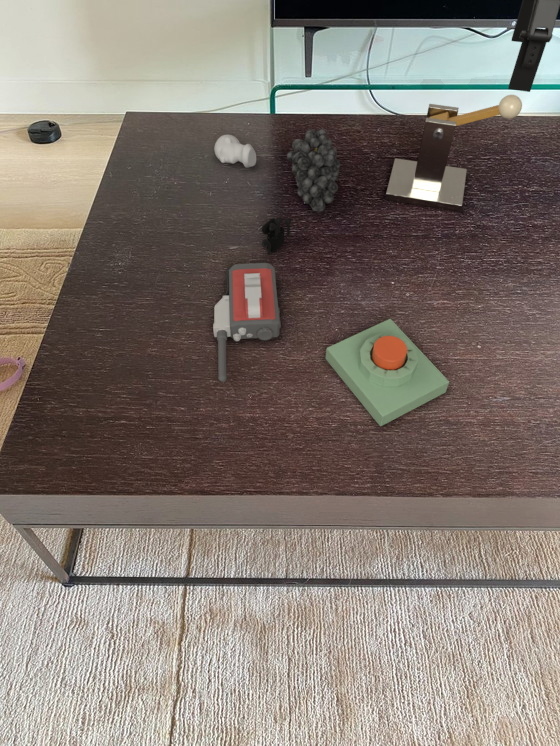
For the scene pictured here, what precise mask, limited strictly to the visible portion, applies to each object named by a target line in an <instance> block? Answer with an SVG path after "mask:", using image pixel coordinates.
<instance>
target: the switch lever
mask: <svg viewBox="0 0 560 746" xmlns="http://www.w3.org/2000/svg"><path fill="white" fill-rule="evenodd" d="M522 108H523V102H522V100H521V98H520V97H519V96H518V95H516V94H508V95H505V96H504V97H503V98H501V99H500V101H499V103H498V104H497V105H493V106H489V107H486V108H482V109H479V110H474V111H471V112H467V113H463V114H460V115H457V116H455V117H451V118H449V114H448V112H446V113H442V114H439V115H435V116H431V117H430V118H433V119H440V120H447V121H455V122H456V127H458V126H462V125H466V124H469V123H474V122H477V121H480V120H485V119H488V118H489V119H490V118H493V117H497V116H501V118H503V119H505V120H512V119H515V118H517V116H519V115H520V113H521V112H522Z"/></svg>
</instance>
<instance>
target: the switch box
mask: <svg viewBox="0 0 560 746" xmlns="http://www.w3.org/2000/svg"><path fill="white" fill-rule="evenodd" d="M383 336H394V337H397V338H399V339H401V340H402V341H403V342H404V343H405V344H406V347H407V354H406V358H405V362H404V364H403V365H402V366H401V367H400V368H398V369H395V370H385V369H382V368H380V367H378V366H377V365H376V364H375V363H374V361H373V359H372V352H373V347H374V343H375V342H376V341H377V340H378V339H379V338H381V337H383ZM325 360H326V361H327V363H328V364H329V365H330V366H331V367H332V369H333V370H334V371H335V373H336V374H337V375H338V376H339V377H340V379H341V380H342V381H343V382H344V384H345V385H346V386H347V388H349V390H350V391H351V393H353V395H354V396H355V397H356V399H357V400H358V401H359V402H360V403H361V405H362V406H363V407H364V408H365V410H366V411H367V412H368V413H369V415H370V416H371V417H372V418H373V420H374V421H375V422H376V423H377V424H378V426H379V427H383V426H384V425H386V424H388V423H390V422H392V421H393V420H395V419H398V418H400V417H401V416H403V415H405V414H407V413H409V412H411V411H413V410H415V409H416V408H418V407H420V406H423V405H424V404H426V403H428V402H430V401H432V400H434V399H436V398H437V397H440V396H442V395H444V394H445V393H446V392H447V391H448V390H447V389H448V387H449V384H450V381H449V379H447V377H446V376H445V375H444V374H443V373H442V372H441V371H440V370H439V369H438V367H436V366H435V365H434V364H433V362H432V361H431V360H430V359H429V358H428V357H427V356H426V355H425V353H423V352H422V351H421V349H419V347H418V346H416V344H415V343H414V342H413V341H412V340H411V339H410V338H409V337H408V336H407V335H406V334H405V333H404V331H403V330H402V329H401V328H400V327H399V326H398V325H397V324H396V323H395V322H394V320H393V319H392V318H388V319H386V320H384V321H382V322H380V323H377V324H376V325H374V326H371V327H369V328H367V329H364V330H361V331H360V332H358V333H355V334H354V335H352V336H349V337H347V338H345V339H343V340H340V341H338V342H337V343H334V344H332V345H330V346H328V347H326V350H325Z"/></svg>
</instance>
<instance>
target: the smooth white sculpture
mask: <svg viewBox="0 0 560 746" xmlns="http://www.w3.org/2000/svg"><path fill="white" fill-rule="evenodd" d="M213 150H214V154H215V157H216V158H217V160H219V161H220V163H222V164H232V165H234V164H236V163H238V162H240V163H242V164H243V166H244V168H246V169H249V168H251V167H254V166H256V164H257V153H256V151H255V149H254V147H253V146H252V145H251V143H246V144H242V143H241V142H240V141H239V139H238V138H237V137H236V136H234V135H232V134H223V135H221V136H220V137H218V138H217V140H216V141H215V143H214V148H213Z"/></svg>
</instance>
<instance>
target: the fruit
mask: <svg viewBox="0 0 560 746" xmlns="http://www.w3.org/2000/svg"><path fill="white" fill-rule="evenodd" d="M304 134H305V135H304V139H301V138H295V139H294V140H292V143H291V147H292V149H293V150H290V151H288V152H287V153H286V159H287V161H289V162H290V163H292V164H291V165H292V166H291V173H292V174H293V176H295V182H296V186H297V192H296V193H297V195H298V196H299V198H302V201H303V203H304V204H306V205H309V207H310V208H311V209H312V211H313V212H318V213H321V212H323V211H325V209H326V204H327V205H329V204H331V203H334V200H335V194H336V192H337V191H338V190H339V185H338V183H337V182H336V181H337V180H338V179H339V177H340V175H339V174H340V167H341V161H340V160H339V159H338V151H337V149H336V147H333V141H332V139H331V138H330V137H328V133H327V131H326V130H325V129H324V128H319V129H317V130H316V131H315V129H312V128H311V129H307V130H306V132H305V133H304ZM312 149H314V150H312Z"/></svg>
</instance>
